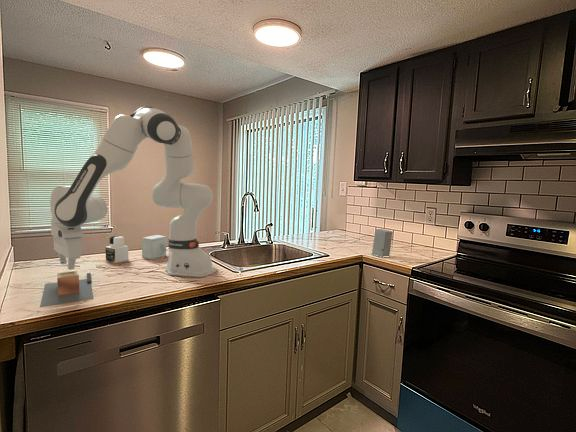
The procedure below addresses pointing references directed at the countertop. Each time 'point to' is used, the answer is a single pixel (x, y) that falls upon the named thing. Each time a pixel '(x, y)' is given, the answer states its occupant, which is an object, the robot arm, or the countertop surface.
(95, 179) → the robot arm
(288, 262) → the countertop surface
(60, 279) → the birch cube
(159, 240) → the skincare box
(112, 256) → the medicine bottle
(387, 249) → the skincare box
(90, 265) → the spatula
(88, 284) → the rubber mat
